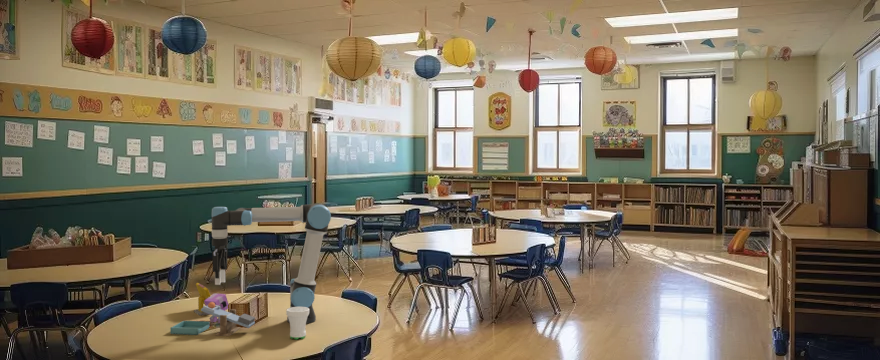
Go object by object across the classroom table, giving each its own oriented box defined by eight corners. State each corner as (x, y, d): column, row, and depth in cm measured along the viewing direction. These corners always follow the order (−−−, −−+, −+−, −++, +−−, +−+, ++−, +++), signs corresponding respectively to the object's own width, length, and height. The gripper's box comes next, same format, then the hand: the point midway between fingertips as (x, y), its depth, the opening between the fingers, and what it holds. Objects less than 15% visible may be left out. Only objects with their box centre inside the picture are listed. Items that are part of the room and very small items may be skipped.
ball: (215, 308, 348) (217, 302, 348) (212, 310, 345) (214, 303, 344) (209, 307, 348) (210, 300, 348) (206, 308, 345) (207, 302, 345)
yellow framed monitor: (215, 315, 380) (215, 287, 379) (201, 317, 375) (200, 288, 375) (205, 308, 396) (205, 281, 396) (191, 310, 392) (191, 282, 391)
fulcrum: (240, 328, 353) (240, 309, 352) (229, 336, 339) (229, 316, 338) (227, 328, 353) (227, 308, 353) (215, 335, 340) (215, 315, 339)
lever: (255, 323, 350) (257, 316, 350) (247, 328, 340) (249, 322, 339) (208, 306, 352) (210, 299, 352) (199, 311, 342) (201, 304, 341)
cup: (298, 342, 329) (298, 313, 328) (281, 338, 335) (281, 310, 334) (314, 336, 338) (314, 308, 338) (297, 333, 344) (297, 305, 344)
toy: (234, 318, 368) (227, 294, 364) (224, 326, 362) (217, 301, 357) (219, 317, 373) (212, 293, 368) (209, 325, 366) (202, 300, 362)
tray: (209, 327, 354) (209, 321, 354) (197, 334, 340) (197, 328, 340) (183, 326, 356) (183, 320, 356) (170, 334, 342) (170, 327, 342)
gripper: (219, 235, 353) (220, 279, 355) (204, 239, 336) (205, 286, 337) (234, 235, 353) (234, 280, 354) (219, 240, 335) (220, 287, 336)
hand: (220, 283), depth 345 cm, fingers open, 5 cm apart
